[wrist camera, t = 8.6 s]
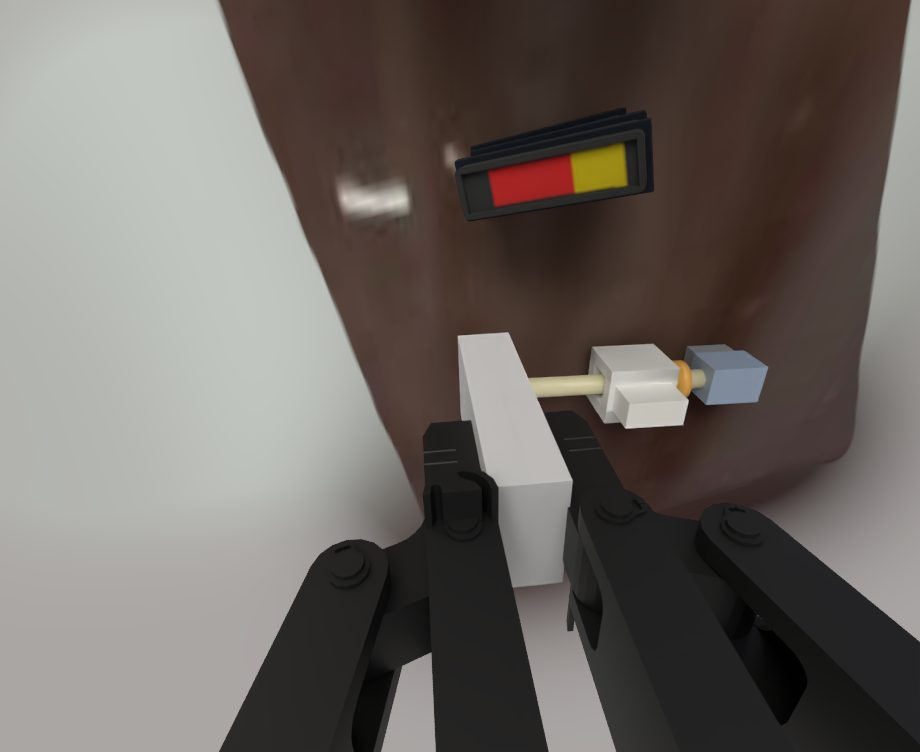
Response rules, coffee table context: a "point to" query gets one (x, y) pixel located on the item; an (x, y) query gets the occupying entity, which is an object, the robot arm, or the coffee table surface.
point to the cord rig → (683, 377)
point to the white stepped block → (637, 386)
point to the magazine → (558, 166)
